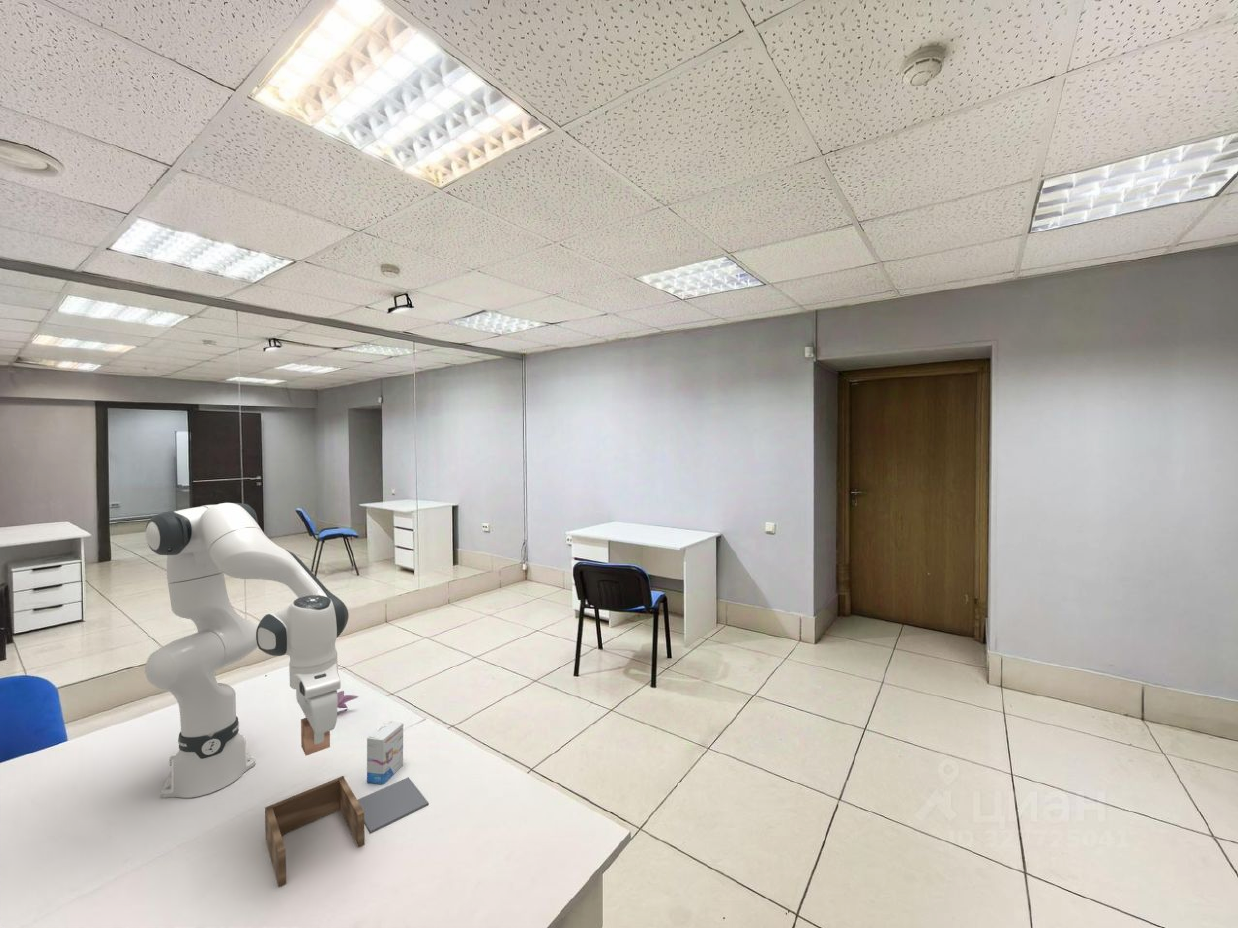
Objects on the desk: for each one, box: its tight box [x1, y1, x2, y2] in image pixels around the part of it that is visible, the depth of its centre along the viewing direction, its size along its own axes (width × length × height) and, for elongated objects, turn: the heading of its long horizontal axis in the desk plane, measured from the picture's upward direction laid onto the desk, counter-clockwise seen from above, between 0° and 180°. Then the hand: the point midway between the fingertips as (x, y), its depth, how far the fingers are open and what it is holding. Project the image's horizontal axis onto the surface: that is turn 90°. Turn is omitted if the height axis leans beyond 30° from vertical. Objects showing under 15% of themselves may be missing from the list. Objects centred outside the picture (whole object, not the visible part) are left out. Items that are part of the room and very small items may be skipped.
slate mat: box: [357, 776, 430, 834], centre depth 119 cm, size 13×13×1 cm
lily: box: [337, 690, 359, 709], centre depth 159 cm, size 12×12×10 cm
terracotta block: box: [300, 717, 331, 757], centre depth 107 cm, size 4×4×6 cm
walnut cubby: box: [264, 775, 366, 888], centre depth 107 cm, size 17×15×7 cm
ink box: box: [366, 720, 404, 785], centre depth 130 cm, size 9×5×12 cm, turn 168°
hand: (315, 736), depth 107 cm, fingers closed on terracotta block, 4 cm apart
